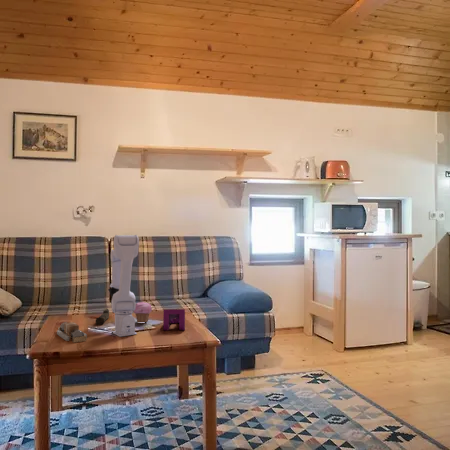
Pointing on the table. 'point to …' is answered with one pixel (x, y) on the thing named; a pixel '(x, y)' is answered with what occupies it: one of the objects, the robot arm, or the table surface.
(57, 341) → the table surface
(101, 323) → the dark brown rough bar
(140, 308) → the cupcake
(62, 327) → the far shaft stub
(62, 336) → the cradle
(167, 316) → the mounting bracket
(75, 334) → the near shaft stub
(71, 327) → the block
